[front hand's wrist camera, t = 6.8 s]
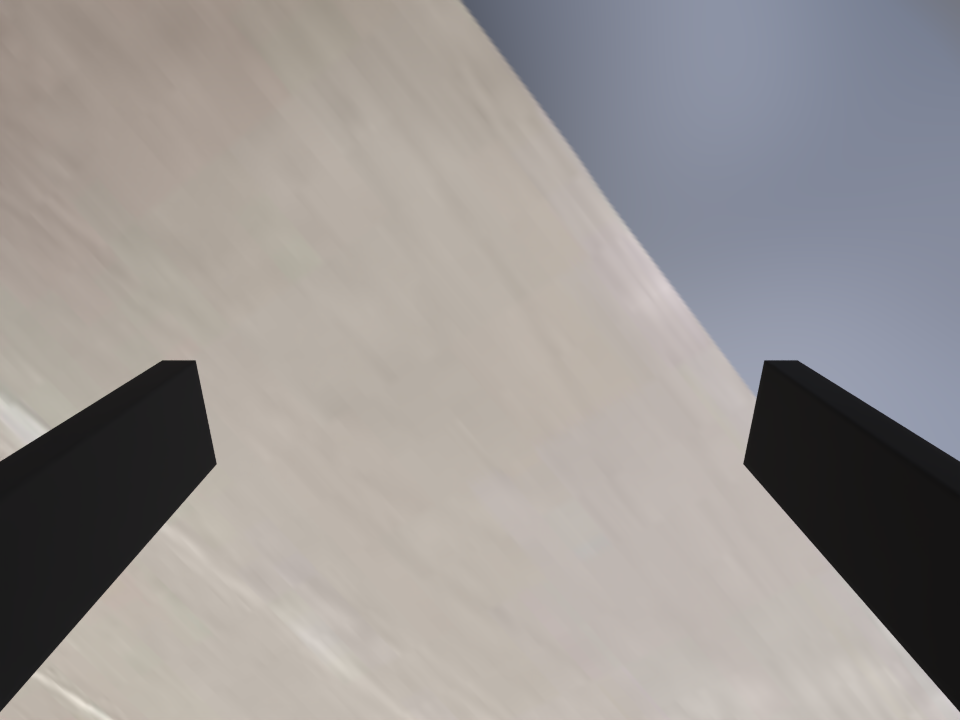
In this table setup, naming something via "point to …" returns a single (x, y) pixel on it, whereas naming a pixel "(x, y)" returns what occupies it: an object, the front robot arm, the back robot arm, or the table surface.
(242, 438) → the table surface
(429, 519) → the table surface
